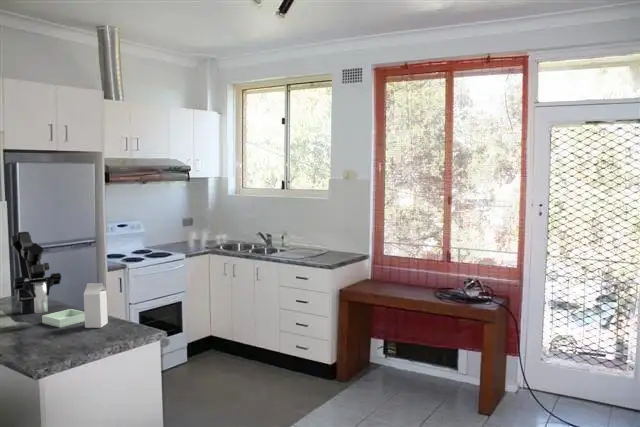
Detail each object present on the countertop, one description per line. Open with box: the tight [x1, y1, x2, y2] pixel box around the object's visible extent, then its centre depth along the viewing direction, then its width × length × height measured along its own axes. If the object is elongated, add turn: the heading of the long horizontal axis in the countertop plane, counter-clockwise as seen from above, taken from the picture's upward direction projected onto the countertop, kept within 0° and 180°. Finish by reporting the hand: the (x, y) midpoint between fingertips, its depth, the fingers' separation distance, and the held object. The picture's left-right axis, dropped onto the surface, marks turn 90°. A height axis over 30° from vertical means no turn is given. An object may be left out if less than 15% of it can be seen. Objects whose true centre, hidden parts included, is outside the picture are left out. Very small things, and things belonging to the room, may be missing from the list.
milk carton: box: [83, 282, 109, 329], centre depth 237 cm, size 7×7×19 cm
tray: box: [41, 308, 85, 329], centre depth 245 cm, size 14×14×4 cm
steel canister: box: [33, 281, 49, 314], centre depth 238 cm, size 5×5×13 cm
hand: (41, 296), depth 237 cm, fingers closed on steel canister, 5 cm apart
